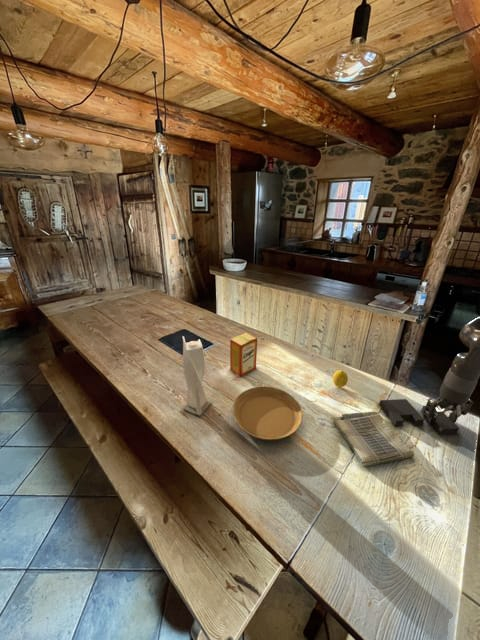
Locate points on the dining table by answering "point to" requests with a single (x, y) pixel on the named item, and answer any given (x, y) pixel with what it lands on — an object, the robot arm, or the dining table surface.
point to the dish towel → (372, 438)
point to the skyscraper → (194, 376)
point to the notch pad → (400, 412)
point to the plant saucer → (267, 413)
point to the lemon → (340, 378)
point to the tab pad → (443, 423)
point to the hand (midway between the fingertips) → (440, 422)
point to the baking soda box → (243, 354)
